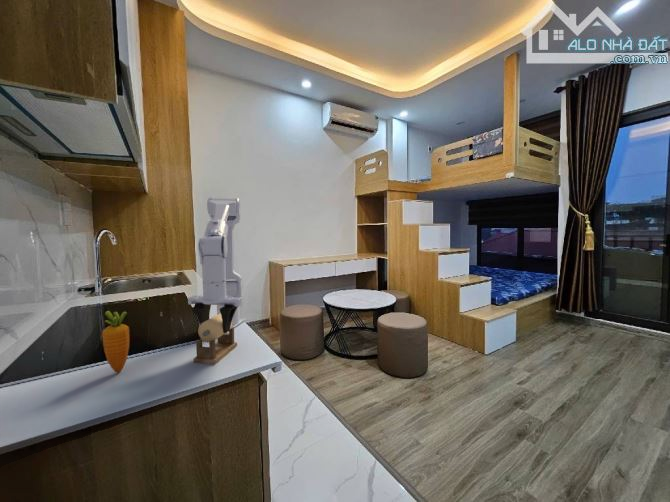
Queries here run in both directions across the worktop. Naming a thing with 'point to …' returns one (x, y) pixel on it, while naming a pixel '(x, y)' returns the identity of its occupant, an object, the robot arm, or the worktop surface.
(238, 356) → the worktop surface
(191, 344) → the worktop surface
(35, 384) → the worktop surface
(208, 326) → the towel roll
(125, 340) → the carrot
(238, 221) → the robot arm
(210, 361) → the roll holder
